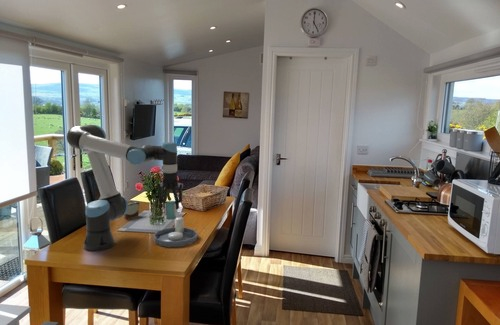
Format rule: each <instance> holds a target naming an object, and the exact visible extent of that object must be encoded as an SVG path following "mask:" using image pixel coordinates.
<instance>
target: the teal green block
mask: <svg viewBox="0 0 500 325" xmlns="http://www.w3.org/2000/svg"><path fill="white" fill-rule="evenodd" d="M175 203H176V202H175V200H166V215H165V216H166V220H169V221H172V220H175V219H176V218H177V215H176V216H175V215H174V204H175Z"/></svg>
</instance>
